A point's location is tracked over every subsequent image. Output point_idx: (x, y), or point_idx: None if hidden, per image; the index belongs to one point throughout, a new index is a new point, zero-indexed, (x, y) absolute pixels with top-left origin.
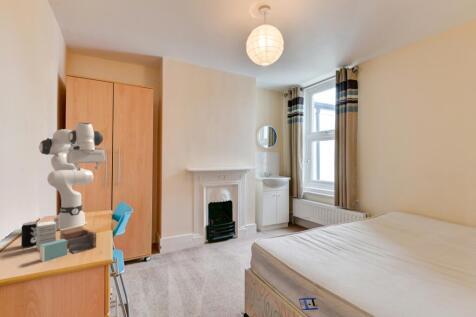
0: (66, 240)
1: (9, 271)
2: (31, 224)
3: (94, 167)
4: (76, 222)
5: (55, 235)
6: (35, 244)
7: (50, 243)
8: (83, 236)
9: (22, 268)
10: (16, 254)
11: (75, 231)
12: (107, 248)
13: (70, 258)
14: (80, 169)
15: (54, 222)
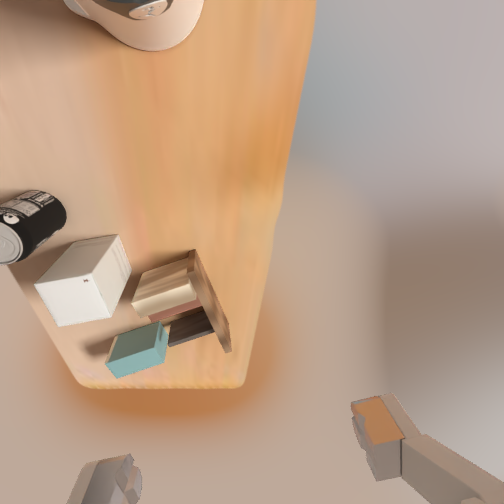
0: (162, 361)
1: (75, 364)
2: (10, 263)
3: (368, 437)
4: (166, 32)
5: (122, 291)
6: (63, 225)
7: (128, 366)
8: (200, 334)
9: (95, 362)
10: (40, 274)
11: (178, 310)
12: (249, 340)
13: (177, 356)
14: (139, 497)
15: (102, 300)
